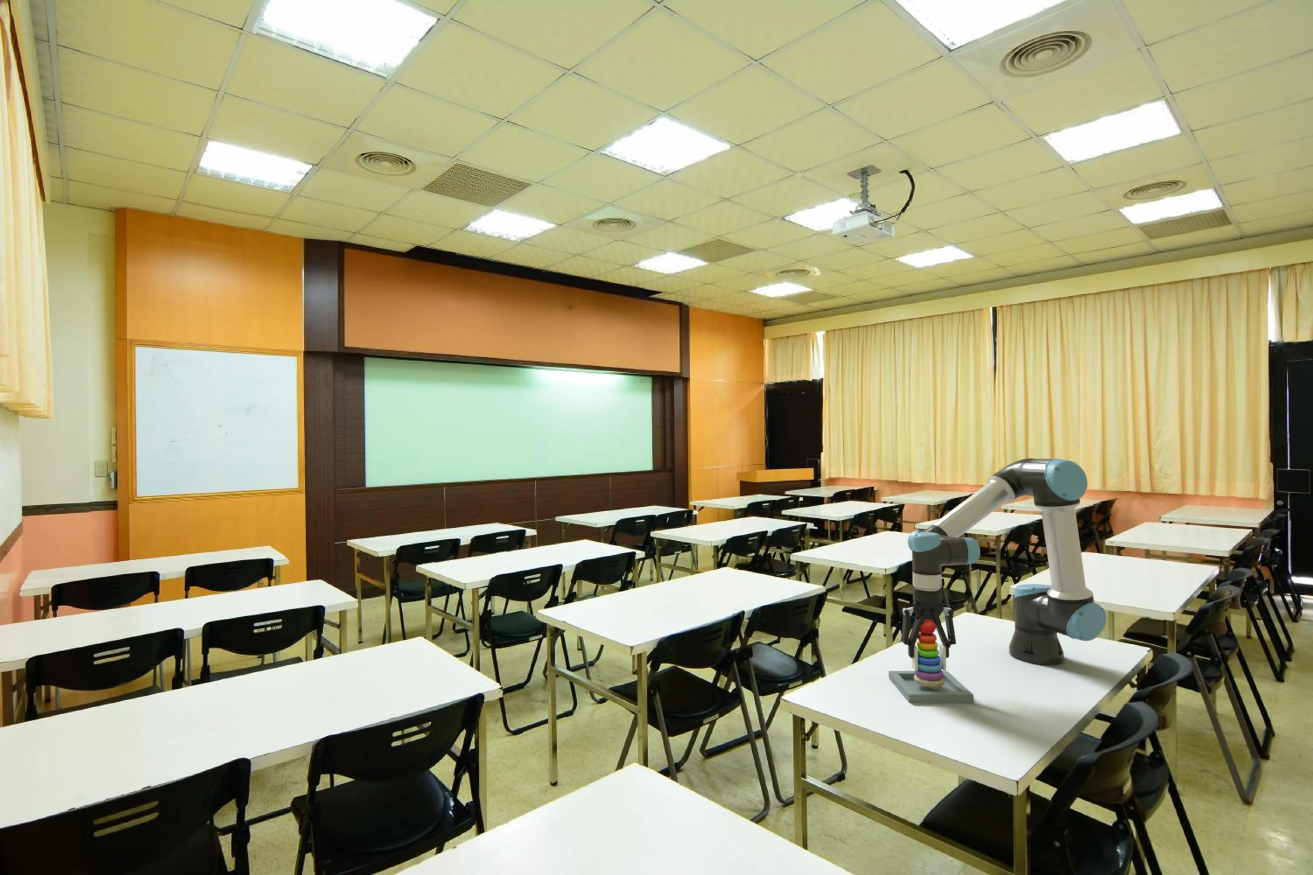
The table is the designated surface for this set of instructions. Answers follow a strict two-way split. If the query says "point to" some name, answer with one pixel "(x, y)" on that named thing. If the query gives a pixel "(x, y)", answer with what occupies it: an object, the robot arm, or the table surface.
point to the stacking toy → (928, 657)
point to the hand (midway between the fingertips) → (928, 668)
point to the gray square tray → (930, 689)
